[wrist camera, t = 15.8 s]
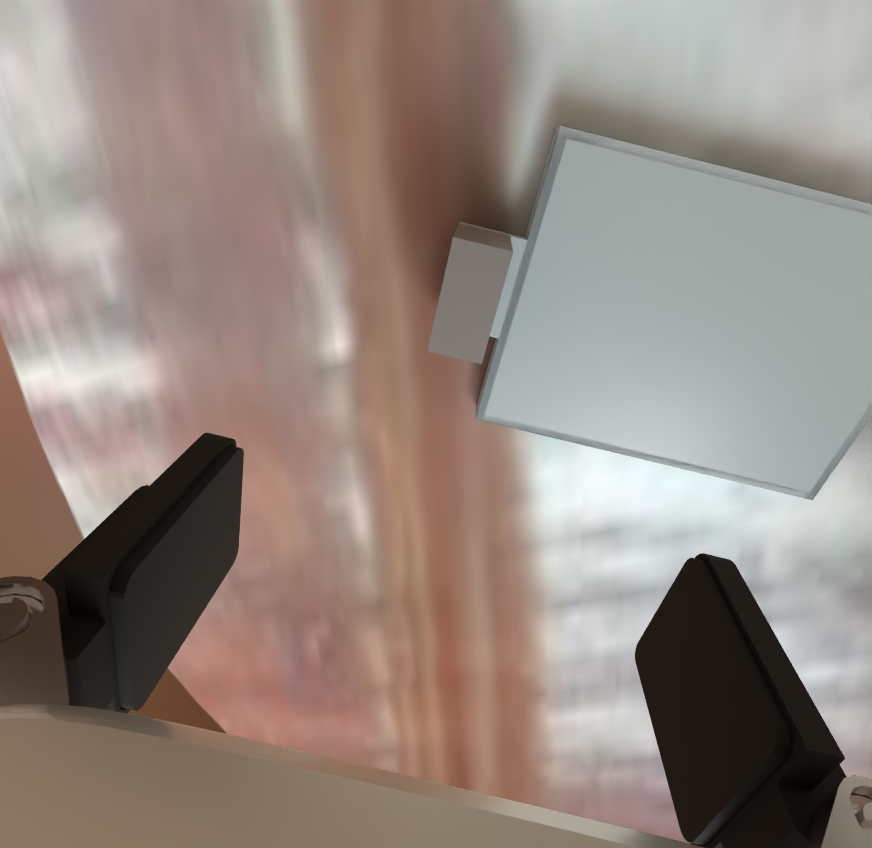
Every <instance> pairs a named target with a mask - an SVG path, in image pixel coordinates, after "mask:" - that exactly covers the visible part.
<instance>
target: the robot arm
mask: <svg viewBox="0 0 872 848" xmlns="http://www.w3.org/2000/svg"><path fill="white" fill-rule="evenodd" d="M243 458H244V452H243V449H242V448H238V447H236V442H235V440H234V439H231V438H227V437H223V436H219V435H215V434H211V433H204V434H203V435H202V436H201V437H200V438H199V439H197V440H196V441H195V442H194V443H193V444H192V445H191V446H190V447H189V448H188V449H187V450H186V451H185V452H184V453H183V454H182V455H181V456H180V457H179V458H178V459H177V460H176V461H175V462H174V463H173V464H172V465H171V466H170V467H169V468H168V469H167V470H166V471H165V472H164V473H163V474H161V475H160V476H159V477H158V478H157V479H156V480H155V481H154V482H153V483H152V484H151V485H150V486H148V485H146V486H142V487H140V488H139V489H137V490H136V491H135V492H134V493H133V494H132V495H130V496H129V497H128V498H127V499H126V500H125V501H124V502H123V503H122V504H121V505H120V506H119V507H118V508H117V509H116V510H115V511H114V512H113V513H111V514H110V515H109V516H108V517H107V518H106V519H105V520H104V521H103V522H102V523H101V524H100V525H99V526H98V527H97V528H96V529H95V530H94V531H92V532H91V533H90V534H89V535H88V536H87V537H86V538H85V539H84V540H83V541H82V542H81V543H80V544H79V545H78V546H77V547H76V548H75V549H74V550H73V551H71V552H70V553H69V554H68V555H67V556H66V557H65V558H64V559H63V560H62V561H61V562H60V563H59V564H58V565H57V566H56V567H55V568H53V569H52V570H51V571H50V572H49V573H48V574H47V575H46V576H45V577H44V578H43V579H42V580H39V579H36V578H32V577H23V576H10V577H3V578H0V848H872V779H870V778H868V777H862V776H856V775H853V776H849V777H846V775H845V774H844V772H843V770H842V768H841V766H840V765H839V764H840V763H841V762H842V761H843V760H844V759H845V757H844V755H843V754H842V752H841V750H840V748H839V747H838V745H837V743H836V741H835V740H834V738H833V736H832V734H831V733H830V731H829V729H828V727H827V726H826V724H825V722H824V720H823V718H822V717H821V715H820V713H819V711H818V710H817V708H816V706H815V704H814V703H813V701H812V699H811V697H810V696H809V694H808V692H807V690H806V689H805V687H804V685H803V683H802V682H801V680H800V678H799V676H798V674H797V673H796V671H795V669H794V667H793V666H792V664H791V662H790V660H789V659H788V657H787V655H786V653H785V652H784V650H783V648H782V646H781V645H780V643H779V641H778V639H777V637H776V636H775V634H774V632H773V630H772V629H771V627H770V625H769V623H768V622H767V620H766V618H765V616H764V615H763V613H762V611H761V609H760V608H759V606H758V604H757V602H756V601H755V599H754V597H753V595H752V593H751V592H750V590H749V588H748V586H747V585H746V583H745V581H744V579H743V578H742V576H741V574H740V572H739V571H738V569H737V567H736V565H735V564H734V563H733V562H732V561H731V560H729V559H724V558H720V557H716V556H712V555H708V554H704V553H703V554H699V555H697V556H696V557H695V558H690V559H688V560H687V561H686V562H685V564H684V566H683V567H682V569H681V571H680V572H679V574H678V576H677V577H676V579H675V581H674V583H673V584H672V586H671V588H670V589H669V591H668V593H667V594H666V596H665V598H664V600H663V601H662V603H661V605H660V606H659V608H658V610H657V611H656V613H655V615H654V616H653V618H652V620H651V622H650V623H649V625H648V627H647V628H646V630H645V632H644V633H643V635H642V637H641V639H640V640H639V642H638V644H637V647H636V651H635V661H636V665H637V669H638V673H639V676H640V680H641V684H642V688H643V691H644V695H645V699H646V703H647V706H648V710H649V714H650V718H651V721H652V725H653V729H654V733H655V736H656V740H657V744H658V748H659V751H660V755H661V759H662V762H663V766H664V770H665V774H666V777H667V781H668V785H669V789H670V792H671V796H672V800H673V804H674V807H675V811H676V815H677V819H678V822H679V826H680V830H681V832H682V835H683V837H684V838H685V840H686V841H688V842H690V843H691V844H689V843H685V842H681V841H677V840H673V839H668V838H664V837H660V836H656V835H652V834H648V833H644V832H640V831H636V830H632V829H627V828H623V827H619V826H615V825H611V824H607V823H603V822H599V821H595V820H590V819H586V818H582V817H578V816H574V815H570V814H566V813H562V812H558V811H553V810H549V809H545V808H541V807H537V806H533V805H528V804H524V803H520V802H516V801H512V800H507V799H503V798H499V797H495V796H491V795H486V794H482V793H478V792H474V791H470V790H465V789H461V788H457V787H453V786H449V785H444V784H440V783H436V782H432V781H427V780H423V779H419V778H415V777H411V776H406V775H402V774H398V773H394V772H389V771H385V770H381V769H377V768H372V767H368V766H364V765H359V764H355V763H351V762H346V761H342V760H338V759H334V758H329V757H325V756H321V755H316V754H312V753H308V752H303V751H299V750H295V749H290V748H286V747H282V746H277V745H273V744H269V743H264V742H260V741H256V740H251V739H247V738H243V737H238V736H234V735H230V734H225V733H220V732H215V731H211V730H206V729H201V728H197V727H192V726H187V725H183V724H178V723H173V722H168V721H164V720H159V719H154V718H149V717H145V716H140V715H134V714H128V712H129V710H135V711H137V710H139V709H140V708H141V707H142V706H143V705H144V703H145V702H146V701H147V699H148V697H149V696H150V694H151V693H152V691H153V690H154V688H155V686H156V684H157V683H158V681H159V680H160V679H161V677H162V675H163V674H164V672H165V670H166V669H167V667H168V666H169V664H170V663H171V661H172V660H173V658H174V656H175V655H176V653H177V652H178V650H179V649H180V647H181V645H182V644H183V642H184V641H185V639H186V638H187V636H188V634H189V633H190V631H191V630H192V628H193V627H194V625H195V623H196V622H197V620H198V619H199V617H200V616H201V614H202V612H203V611H204V609H205V608H206V606H207V605H208V603H209V601H210V600H211V598H212V597H213V595H214V594H215V592H216V590H217V589H218V587H219V586H220V584H221V583H222V581H223V579H224V578H225V576H226V575H227V573H228V571H229V570H230V568H231V567H232V565H233V563H234V561H235V559H236V556H237V553H238V547H239V531H240V513H241V494H242V476H243Z"/></svg>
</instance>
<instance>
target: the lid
mask: <svg viewBox="0 0 872 848" xmlns="http://www.w3.org/2000/svg"><path fill="white" fill-rule="evenodd" d="M489 336H490V337H494V338H496V339H495V343H494V346H493V350H492V353H491V357H490V360H489V364H488V367H487V371H486V374H485V378H484V381H483V385H482V388H481V392H480V395H479V399H478V402H477V405H476V419H477V420H481V421H486V422H490V423H494V424H498V425H502V426H506V427H511V428H515V429H519V430H523V431H527V432H531V433H535V434H540V435H544V436H548V437H552V438H556V439H560V440H565V441H569V442H573V443H577V444H581V445H585V446H590V447H594V448H598V449H602V450H606V451H610V452H614V453H619V454H623V455H627V456H631V457H635V458H639V459H644V460H648V461H652V462H656V463H660V464H664V465H669V466H673V467H677V468H681V469H685V470H689V471H694V472H698V473H702V474H706V475H710V476H714V477H718V478H723V479H727V480H731V481H735V482H739V483H743V484H748V485H752V486H756V487H760V488H764V489H768V490H773V491H777V492H781V493H785V494H789V495H793V496H798V497H802V498H806V499H810V500H813V499H814V497H815V496H816V495H817V493H818V492H819V490H820V489H821V487H822V486H823V484H824V483H825V482H826V480H827V479H828V477H829V476H830V474H831V473H832V472H833V470H834V469H835V467H836V466H837V464H838V463H839V461H840V460H841V459H842V457H843V456H844V454H845V453H846V451H847V450H848V449H849V447H850V446H851V444H852V443H853V441H854V440H855V439H856V437H857V436H858V434H859V433H860V431H861V430H862V428H863V427H864V426H865V424H866V423H867V421H868V420H869V418H870V417H871V416H872V204H870V203H866V202H862V201H858V200H854V199H850V198H846V197H842V196H838V195H834V194H830V193H826V192H822V191H818V190H814V189H810V188H806V187H802V186H798V185H794V184H790V183H786V182H782V181H778V180H774V179H770V178H766V177H762V176H758V175H754V174H750V173H747V172H743V171H739V170H735V169H731V168H727V167H723V166H719V165H715V164H711V163H707V162H703V161H699V160H695V159H691V158H687V157H683V156H679V155H675V154H671V153H667V152H663V151H659V150H655V149H651V148H647V147H643V146H639V145H635V144H631V143H627V142H623V141H620V140H616V139H612V138H608V137H604V136H600V135H596V134H592V133H588V132H584V131H580V130H576V129H572V128H568V127H564V126H557V127H556V130H555V134H554V137H553V141H552V144H551V148H550V151H549V155H548V158H547V162H546V165H545V169H544V172H543V176H542V179H541V183H540V186H539V190H538V193H537V197H536V200H535V204H534V207H533V210H532V214H531V217H530V221H529V224H528V228H527V231H526V235H525V237H521V236H517V235H513V234H509V233H504V232H500V231H496V230H492V229H488V228H484V227H480V226H476V225H472V224H468V223H464V222H459V224H458V226H457V229H456V231H455V233H454V236H453V239H452V244H451V248H450V253H449V257H448V261H447V266H446V270H445V275H444V279H443V284H442V288H441V293H440V297H439V301H438V306H437V310H436V315H435V319H434V324H433V328H432V333H431V337H430V341H429V346H428V350H427V351H429V352H433V353H437V354H441V355H445V356H449V357H453V358H457V359H462V360H466V361H470V362H474V363H478V364H482V361H483V358H484V354H485V351H486V347H487V344H488V340H489Z"/></svg>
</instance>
